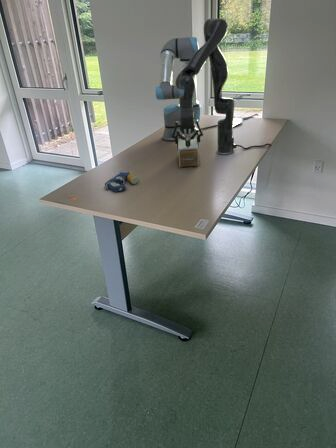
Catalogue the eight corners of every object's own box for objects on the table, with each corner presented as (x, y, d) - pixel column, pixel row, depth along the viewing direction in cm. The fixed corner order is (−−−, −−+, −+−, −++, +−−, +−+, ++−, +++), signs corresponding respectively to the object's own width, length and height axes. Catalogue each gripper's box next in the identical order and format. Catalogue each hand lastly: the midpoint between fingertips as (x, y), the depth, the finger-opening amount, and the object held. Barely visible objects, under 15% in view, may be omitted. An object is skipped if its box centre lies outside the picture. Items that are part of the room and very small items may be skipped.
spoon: (235, 135, 247) (235, 132, 245) (221, 135, 250) (220, 132, 249) (243, 119, 273) (243, 117, 272) (230, 119, 276) (230, 117, 275)
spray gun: (144, 178, 188) (122, 175, 194) (143, 171, 185) (120, 168, 192) (124, 194, 172) (101, 191, 179) (123, 187, 170) (99, 184, 176)
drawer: (198, 168, 191) (197, 153, 187) (180, 170, 192) (179, 155, 187) (196, 155, 211) (196, 141, 206) (180, 156, 211) (179, 142, 207)
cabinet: (198, 165, 198) (198, 147, 193) (179, 166, 199) (178, 148, 193) (197, 154, 214) (196, 137, 208) (179, 156, 215) (178, 139, 209)
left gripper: (165, 115, 193) (168, 151, 205) (207, 112, 192) (207, 148, 203) (166, 112, 200) (168, 147, 211) (206, 109, 198) (206, 144, 210)
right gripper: (174, 118, 176) (176, 149, 185) (199, 116, 175) (200, 148, 184) (174, 114, 182) (176, 145, 191) (198, 112, 181) (199, 143, 190)
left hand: (188, 148), depth 207 cm, fingers closed on cabinet, 12 cm apart
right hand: (188, 146), depth 188 cm, fingers closed
